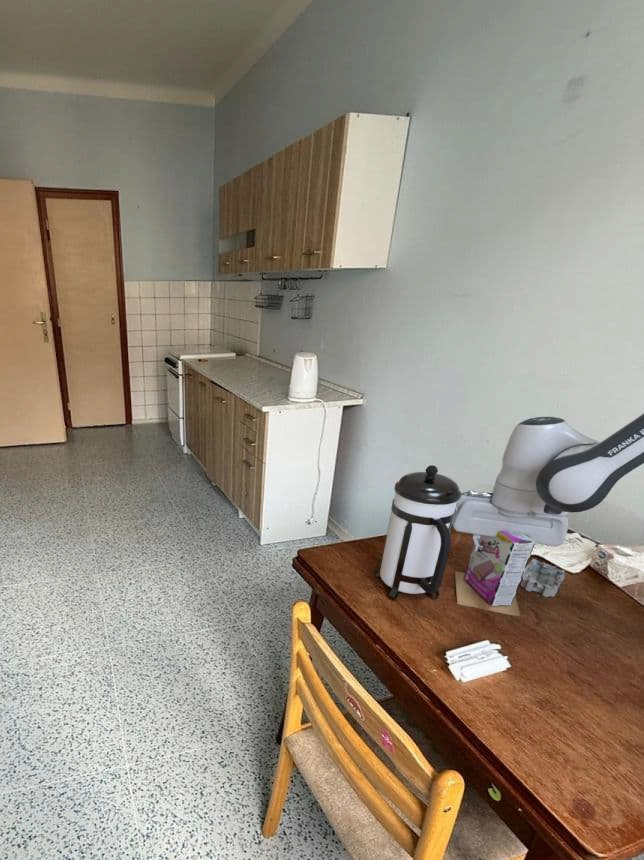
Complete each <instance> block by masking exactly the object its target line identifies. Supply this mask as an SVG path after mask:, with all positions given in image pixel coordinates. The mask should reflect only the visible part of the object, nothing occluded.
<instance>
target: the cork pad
mask: <svg viewBox="0 0 644 860" xmlns="http://www.w3.org/2000/svg"><path fill="white" fill-rule="evenodd" d="M464 575H465V572H462V571H457V570H455V571H454V583H455V584H454V585H455V596H456V599H455V600H456V605H460V606H465V607H470V608H474V609H480V610H483V611H484V610H485V611H489V612H494V613H498V614H503V615H508V616H513V617H518V618H520V617H521V613H520V612H521V611H520V609H519V608H520V607H519V605H518V600H517V597H516V595H515V597H514V599H513V602H512V605H511V606H491V605H490V604H489V603H487V602H486V600H484V599H483V598H482V597H481V596H480V595H479V594H478V593H477V592H476V591H475V590H474V589H473V588H472V587H471V586H470V585H469V584H468V583H467V582H466V581H465V580H464V579H463V578H464Z"/></svg>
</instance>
